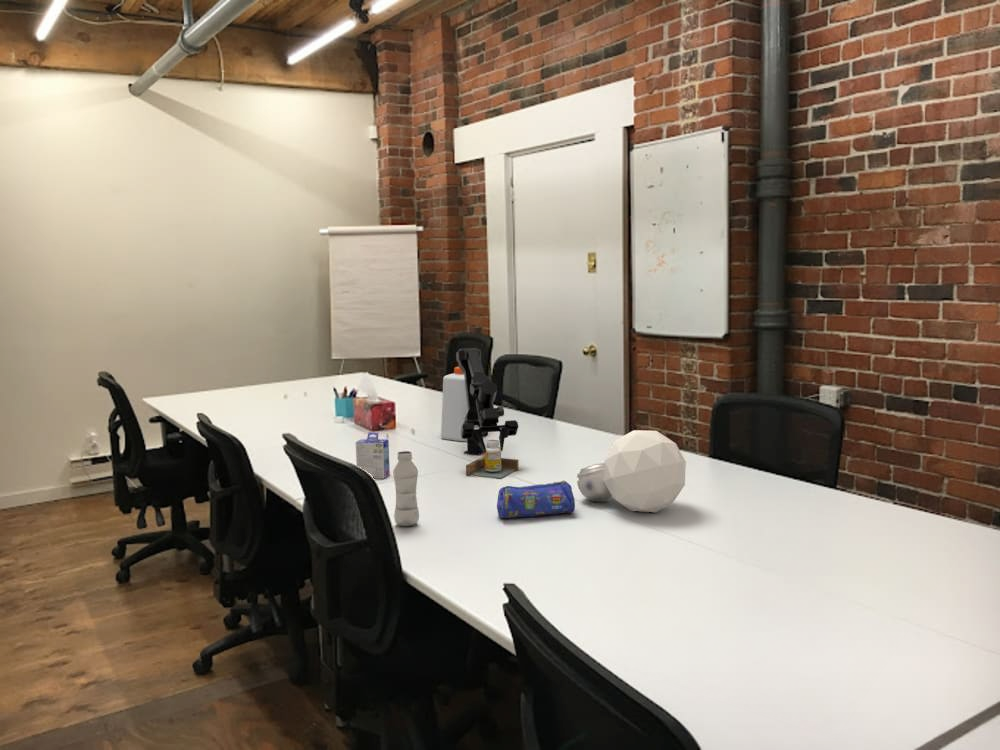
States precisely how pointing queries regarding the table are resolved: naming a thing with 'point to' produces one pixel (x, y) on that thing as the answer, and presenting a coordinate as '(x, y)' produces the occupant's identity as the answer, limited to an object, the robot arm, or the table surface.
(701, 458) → the table surface
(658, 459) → the lamp
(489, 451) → the supplement bottle
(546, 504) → the pencil case
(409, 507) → the plastic bottle
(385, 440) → the ink cartridge box
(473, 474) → the mat
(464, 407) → the plastic bottle
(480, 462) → the corner walls
